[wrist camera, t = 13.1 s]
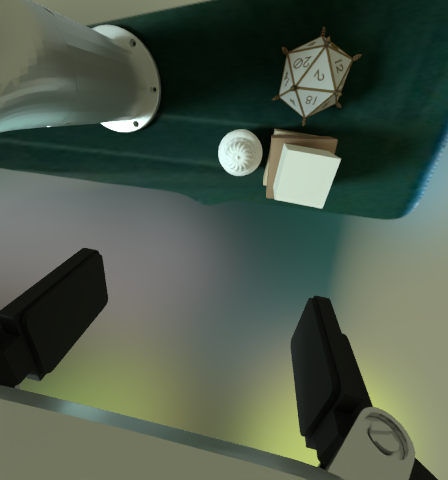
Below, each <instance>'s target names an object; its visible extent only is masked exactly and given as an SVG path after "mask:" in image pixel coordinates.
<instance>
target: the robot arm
mask: <svg viewBox="0 0 448 480" xmlns="http://www.w3.org/2000/svg"><path fill="white" fill-rule="evenodd" d="M135 42H136V46H134V43H135ZM155 88H156V92H155V90H154V89H155ZM160 100H161V81H160V75H159V72H158V68H157V65H156V63H155V61H154V58H153V57H152V55H151V53H150V52H149V50H148V48H147V47H146V46H145V45H144V44H143V43H142V41H141V40H140V39H138V38H137V37H136V36H135V35H133V34H132V33H130V32H129V31H127V30H125V29H123V28H120V27H118V26H114V25H100V26H97V27H95V28H92V29H90V28H88V27H86V26H84V25H82V24H80V23H77V22H75V21H73V20H71V19H69V18H67V17H65V16H63V15H60V14H58V13H56V12H54V11H52V10H50V9H48V8H46V7H44V6H41V5H39V4H37V3H35V2H33V1H31V0H0V132H4V131H11V130H18V129H27V128H39V127H55V126H68V125H81V124H95V123H101V124H102V125H104V126H105V127H107V128H109V129H111V130H114V131H118V132H126V133H127V132H134V131H137V130H140V129H142V128H144V127H146V126H147V125H148V124H149V123H150V122H151V121H152V119H153V118H154V117H155V115H156V113H157V110H158V108H159V104H160ZM137 122H138V123H139V125H138V124H137ZM107 302H108V294H107V287H106V281H105V273H104V266H103V259H102V255H100V254H99V252H98V251H97V250H93V249H88V248H83V249H81V250H80V251H78V252H77V253H76V254H74V255H73V256H72V257H70V258H69V259H68V260H66V261H65V262H64V263H62V264H61V265H60V266H59V267H57V268H56V269H55V270H53V271H52V272H51V273H49V274H48V275H47V276H45V277H44V278H43V279H41V280H40V281H39V282H37V283H36V284H35V285H33V286H32V287H31V288H29V289H28V290H27V291H25V292H24V293H23V294H22V295H20V296H19V297H17V298H16V299H15V300H14V301H12V302H11V303H10V304H8V305H7V306H6V307H4V308H3V309H2V310H0V480H438V479H437V478H436V477H435V476H434V475H433V474H431V473H430V472H429V471H428V470H427V469H426V468H425V467H424V466H423V465H422V464H421V463H420V462H419V461H418V460H417V459H416V458H415V450H414V446H413V443H412V441H411V439H410V437H409V435H408V433H407V432H406V430H405V429H404V428H403V426H402V425H401V424H400V423H399V422H398V421H397V420H396V419H395V418H394V417H393V416H391V415H390V414H388V413H387V412H386V411H383V410H381V409H379V408H375V407H373V406H372V403H371V400H370V398H369V395H368V392H367V389H366V387H365V384H364V381H363V378H362V376H361V373H360V370H359V367H358V365H357V362H356V359H355V357H354V354H353V351H352V349H351V345H350V343H349V340H348V338H347V336H346V335H345V334H342V333H341V330H340V327H339V324H338V321H337V318H336V315H335V313H334V310H333V307H332V304H331V301H330V299H329V298H325V297H320V296H314V297H313V298H309V299H308V301H307V304H306V306H305V309H304V311H303V313H302V316H301V318H300V320H299V323H298V325H297V327H296V330H295V332H294V335H293V337H292V340H291V354H292V363H293V372H294V381H295V391H296V400H297V409H298V418H299V427H300V433H301V435H302V436H305V441H306V447H307V448H311V449H315V450H317V457H318V460H319V461H320V464H319V465H318V467H315V466H312V465H309V464H306V463H303V462H300V461H297V460H294V459H290V458H287V457H283V456H280V455H276V454H272V453H269V452H265V451H262V450H258V449H254V448H251V447H247V446H243V445H239V444H235V443H232V442H228V441H223V440H220V439H216V438H212V437H208V436H204V435H201V434H197V433H193V432H189V431H185V430H181V429H177V428H173V427H169V426H165V425H161V424H157V423H153V422H149V421H145V420H141V419H138V418H134V417H129V416H125V415H122V414H118V413H114V412H109V411H105V410H102V409H98V408H94V407H90V406H85V405H81V404H77V403H73V402H69V401H65V400H61V399H57V398H53V397H49V396H45V395H41V394H37V393H33V392H28V391H24V390H20V385H21V382H22V381H23V380H24V379H25V377H27V378H29V379H33V380H37V381H41V380H42V378H43V377H44V376H45V375H46V374H47V373H50V372H51V371H53V370H54V368H55V367H56V366H57V365H58V364H59V362H60V361H61V360H62V359H63V357H64V356H65V355H66V354H67V352H68V351H69V350H70V349H71V348H72V346H73V345H74V344H75V343H76V341H77V340H78V339H79V338H80V337H81V335H82V334H83V333H84V332H85V330H86V329H87V328H88V327H89V326H90V324H91V323H92V322H93V321H94V319H95V318H96V317H97V316H98V314H99V313H100V312H101V311H102V310H103V308H104V307H105V306H106V304H107Z"/></svg>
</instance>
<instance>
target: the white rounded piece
mask: <svg viewBox="0 0 448 480" xmlns="http://www.w3.org/2000/svg"><path fill="white" fill-rule="evenodd" d="M218 155H219V160H220V163H221V165H222V166H223V168H224V169H225V170H226V171H227V172H228V173H230V174H232V175H235V176H244V175H247V174H250V173H251V172H253V171H254V170H255V169H256V168H257V167H258V166H259V164H260V162H261V159H262V146H261V143H260V141H259V140H258V138H257V137H256V136H255V135H254V134H253V133H252V132H250V131H248V130H244V129H239V130H235V131H232V132H230V133H228V134H227V135H226V136H225V137H224V138H223V139H222V141H221V143H220V146H219V150H218Z"/></svg>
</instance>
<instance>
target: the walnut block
mask: <svg viewBox="0 0 448 480" xmlns="http://www.w3.org/2000/svg"><path fill="white" fill-rule="evenodd" d="M337 141H338V140H337V139H335V138H332V137H330V136H299V135H272V136H271V146H270V156H269V166H268V176H267V186H266V198H274V190H273V185H274V181H275V177H276V173H277V169H278V165H279V161H280V157H281V153H282V149H283V145H284V143H286V144H291V145H297V146H303V147H308V148H314V149H320V150H325V151H329V152H331V153H332V154H335V150H336V146H337Z"/></svg>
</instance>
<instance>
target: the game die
mask: <svg viewBox="0 0 448 480" xmlns="http://www.w3.org/2000/svg"><path fill="white" fill-rule="evenodd" d="M325 32H326V29H325V26H324V28H323V29H322V30H321V33H320V34H321V36H320V37H318V38H316V39H314V40H312V41H310V42H308V43H306V44H304V45H302V46H300V47H298V48H295V49H293V50H291V51H288V49H287V48H286V47H282V52H283V53H284V54H286V61H285V66H284V71H283V76H282V81H281V86H280V91H279V95H276V96H274V98H273V99H272V100H275V101H276V100H278V99H279V98H280V99H282V100H283V101H284V102H285V103H286V104H288V105H289V106H290V107H291V108H292V109H294V110H295V111H296V112H297V113H298V114H300V115H301V116H302V117H303V120H302V124H303V126H304V125H305V124H306V121H307V120H306V118H308V117H310V116H312V115H314V114H316V113H318V112H320V111H322V110H324V109H326V108H328V107H330V106H332V105H334V104H336V106H337V108H338V107H339V108H341V103H340V102H338V99H339V97H340V96H341V94H342V93H341V91H342V89H343V86H344V83H345V81H346V78H347V75H348V73H349V70H350V67H351V65H352V62H353V61H356V60H359V58H360V57H361V56H362V55H361V54H357V55H355V56H354V57H353V58H352V57H351V56H349V55H348V54H347V53H345V52H344V51H343V50H341V49H340V48H339V47H337V46H336V45H335V44H333V43H332V42H331V39H330V36H329V37H328V38H326V37H324V35H325Z"/></svg>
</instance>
